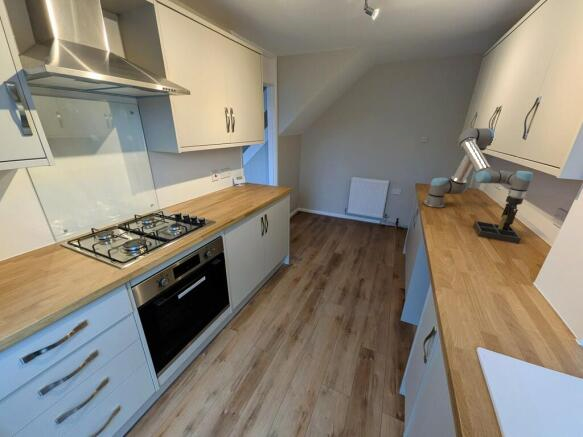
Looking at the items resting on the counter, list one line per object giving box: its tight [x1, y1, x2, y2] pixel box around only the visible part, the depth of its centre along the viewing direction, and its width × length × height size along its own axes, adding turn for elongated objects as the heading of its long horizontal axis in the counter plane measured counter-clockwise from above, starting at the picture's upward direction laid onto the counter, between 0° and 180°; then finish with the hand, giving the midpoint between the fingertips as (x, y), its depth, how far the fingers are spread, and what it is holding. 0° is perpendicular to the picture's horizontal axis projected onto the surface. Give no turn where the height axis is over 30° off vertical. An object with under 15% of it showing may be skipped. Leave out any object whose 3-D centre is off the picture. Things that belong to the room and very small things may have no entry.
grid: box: [473, 220, 522, 245], centre depth 151 cm, size 19×19×4 cm
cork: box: [497, 215, 509, 231], centre depth 151 cm, size 6×6×11 cm
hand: (502, 231), depth 153 cm, fingers closed on cork, 6 cm apart
